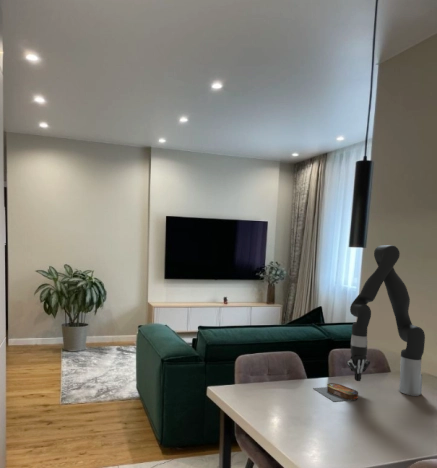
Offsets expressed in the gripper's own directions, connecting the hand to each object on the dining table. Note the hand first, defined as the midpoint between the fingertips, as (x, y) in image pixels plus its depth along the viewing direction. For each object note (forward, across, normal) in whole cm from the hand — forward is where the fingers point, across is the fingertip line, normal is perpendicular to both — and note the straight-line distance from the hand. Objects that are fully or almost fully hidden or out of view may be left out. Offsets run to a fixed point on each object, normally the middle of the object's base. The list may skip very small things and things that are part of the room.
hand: (357, 380), depth 181 cm
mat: (+6, +14, 0) cm, 15 cm away
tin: (+4, +6, 0) cm, 7 cm away
